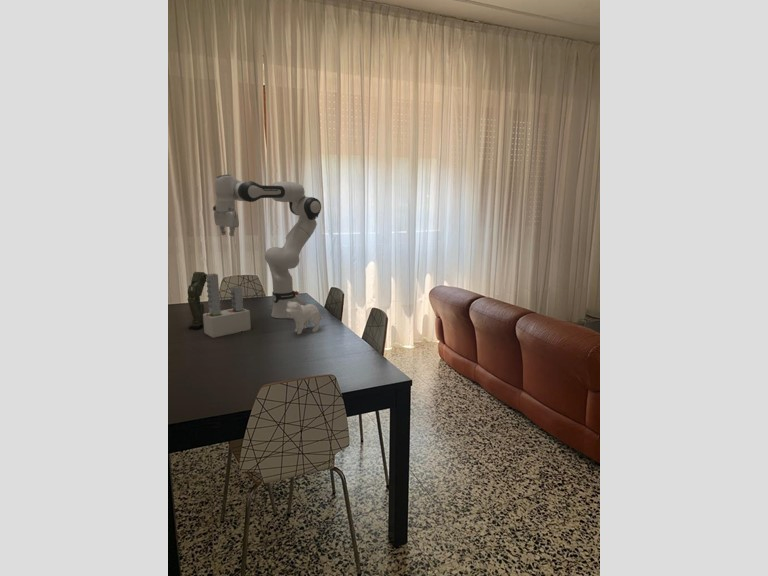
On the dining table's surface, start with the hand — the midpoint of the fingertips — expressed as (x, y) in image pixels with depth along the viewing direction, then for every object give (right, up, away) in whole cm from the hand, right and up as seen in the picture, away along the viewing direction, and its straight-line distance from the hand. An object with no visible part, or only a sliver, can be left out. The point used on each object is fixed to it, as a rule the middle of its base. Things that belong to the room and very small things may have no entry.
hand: (227, 235), depth 225 cm
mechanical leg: (-18, -47, +9) cm, 51 cm away
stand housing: (0, -49, +1) cm, 49 cm away
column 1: (-4, -42, -5) cm, 42 cm away
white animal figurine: (+39, -49, +3) cm, 63 cm away
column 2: (+4, -48, +5) cm, 49 cm away
